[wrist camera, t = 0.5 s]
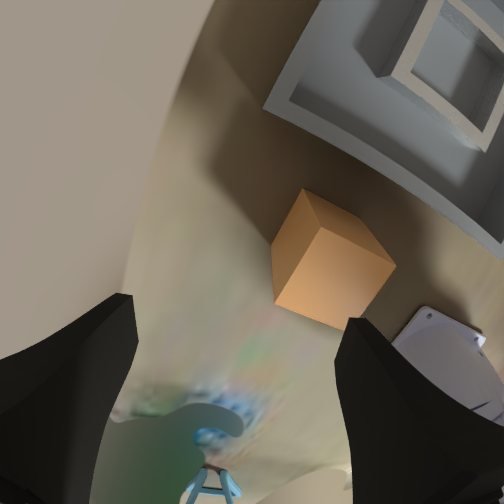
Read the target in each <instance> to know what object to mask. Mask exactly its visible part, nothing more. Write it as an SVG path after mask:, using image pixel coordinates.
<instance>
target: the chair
mask: <svg viewBox="0 0 504 504" xmlns="http://www.w3.org/2000/svg"><path fill="white" fill-rule="evenodd" d="M206 478H207V469H206V468H200V470H199V472H198V473H197V474H196V475H195V477H194V478H193V479H192V480H191V481H190V482H189V483H188V484H187V487H186V491H187V492H191V494H190V496H189V498H188V500H187V502H186V504H194V502H195V500H196V498H197V496H198V494H199V493H200V494H209V495H218V496H225V499H226V502H227V504H234V502H233V499H232V497H241V489H240V488H239V487H238V486H237V485H236V483H235V482H234V481H233V480H232V478H231V477H230V475H229V473H228V472H227V471H226V470H221V471H220V481H221V485H222V488H223V490H216V489H207V488H202V486H203V484H204V482H205V480H206ZM230 490H231V491H230Z"/></svg>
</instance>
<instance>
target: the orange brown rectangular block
mask: <svg viewBox="0 0 504 504" xmlns="http://www.w3.org/2000/svg"><path fill="white" fill-rule="evenodd" d="M271 260H272V276H273V294H274V304H276V305H279V306H281V307H284V308H286V309H289V310H291V311H294V312H296V313H299V314H301V315H304V316H306V317H309V318H311V319H314V320H317V321H319V322H322V323H324V324H327V325H329V326H332V327H335V328H337V329H340V330H343V331H345V328H346V325H347V322H348V319H349V317H354V318H359V317H360V316H361V315H362V313H363V312H364V311H365V309H366V308H367V307H368V305H369V304H370V303H371V301H372V300H373V299H374V297H375V296H376V295H377V293H378V292H379V290H380V289H381V288H382V286H383V285H384V283H385V282H386V281H387V279H388V278H389V276H390V275H391V274H392V272H393V271H394V269H395V268H396V264H395V263H394V262H393V260H392V259H391V258H390V256H389V255H388V254H387V252H386V251H385V250H384V248H383V247H382V246H381V244H380V243H379V242H378V240H377V239H376V238H375V237H374V235H373V234H372V233H371V231H370V230H369V229H368V228H367V226H366V225H365V224H364V223H363V221H362V220H361V219H360V218H358V217H357V216H355V215H353V214H351V213H349V212H347V211H345V210H344V209H342V208H340V207H338V206H336V205H334V204H332V203H330V202H329V201H327V200H325V199H323V198H321V197H319V196H317V195H315V194H313V193H311V192H309V191H307V190H305V189H303V188H302V190H301V192H300V194H299V196H298V197H297V199H296V201H295V203H294V205H293V207H292V208H291V210H290V212H289V214H288V216H287V218H286V219H285V221H284V223H283V225H282V227H281V228H280V230H279V232H278V234H277V236H276V237H275V239H274V241H273V243H272V245H271Z"/></svg>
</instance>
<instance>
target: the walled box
mask: <svg viewBox="0 0 504 504" xmlns="http://www.w3.org/2000/svg"><path fill="white" fill-rule="evenodd" d="M461 1H462V2H464V3H465V4H466V5H467V6H468V7H469V8H470V9H472V10H473V11H474V12H475V13H476V14H477V15H478V16H479V17H480V18H481V19H482V20H484V21H485V22H486V23H487V24H488V25H489V26H490V27H491V28H492V29H493V30H494V31H495V32H496V33H497V34H498V35H499V36H500V37H501V38H502V39H503V41H504V0H461ZM415 2H416V0H320V2H319V4H318V6H317V7H316V9H315V11H314V13H313V14H312V16H311V18H310V20H309V21H308V23H307V25H306V27H305V28H304V30H303V32H302V34H301V36H300V37H299V39H298V41H297V43H296V45H295V46H294V48H293V50H292V52H291V54H290V56H289V57H288V59H287V61H286V63H285V65H284V67H283V69H282V71H281V72H280V74H279V76H278V78H277V80H276V82H275V84H274V86H273V88H272V90H271V91H270V93H269V95H268V97H267V99H266V101H265V103H264V105H263V107H262V109H264V110H266V111H268V112H270V113H272V114H274V115H276V116H278V117H281V118H283V119H285V120H287V121H289V122H291V123H293V124H295V125H297V126H299V127H300V128H302V129H304V130H306V131H308V132H310V133H312V134H314V135H316V136H318V137H319V138H321V139H323V140H325V141H327V142H329V143H330V144H332V145H334V146H336V147H338V148H339V149H341V150H343V151H345V152H346V153H348V154H350V155H352V156H353V157H355V158H357V159H358V160H360V161H362V162H363V163H365V164H367V165H368V166H370V167H372V168H373V169H375V170H376V171H378V172H380V173H381V174H383V175H384V176H386V177H388V178H389V179H391V180H392V181H394V182H395V183H397V184H398V185H400V186H401V187H403V188H404V189H406V190H407V191H409V192H410V193H412V194H413V195H415V196H416V197H418V198H419V199H421V200H422V201H424V202H425V203H426V204H428V205H429V206H431V207H432V208H433V209H435V210H436V211H438V212H439V213H440V214H442V215H443V216H444V217H446V218H447V219H449V220H450V221H451V222H453V223H454V224H455V225H457V226H458V227H459V228H460V229H462V230H463V231H464V232H466V233H467V234H468V235H469V236H471V237H472V238H473V239H474V240H476V241H477V242H478V243H479V244H481V245H482V246H483V247H484V248H485V249H487V250H488V251H489V252H490V253H491V254H493V255H494V256H495V257H496V258H497V259H499V260H501V259H502V257H503V256H504V113H503V115H502V118H501V120H500V122H499V125H498V127H497V129H496V131H495V133H494V136H493V138H492V140H491V142H490V144H489V146H488V148H487V150H486V153H484V152H481V151H478V150H475V149H472V148H469V147H466V146H465V145H464V144H463V143H462V142H461V141H459V140H458V139H457V138H456V137H455V136H454V135H452V134H451V133H450V132H449V131H448V130H447V129H445V128H444V127H443V126H442V125H440V124H439V123H438V122H437V121H435V120H434V119H433V118H432V117H430V116H429V115H428V114H427V113H425V112H424V111H423V110H421V109H420V108H419V107H417V106H416V105H415V104H413V103H412V102H411V101H409V100H408V99H406V98H405V97H404V96H402V95H401V94H399V93H398V92H396V91H395V90H394V89H392V88H391V87H389V86H388V85H386V84H385V83H383V82H382V81H380V80H379V79H377V76H378V74H379V72H380V70H381V69H382V67H383V65H384V63H385V61H386V59H387V57H388V55H389V53H390V51H391V49H392V47H393V45H394V43H395V41H396V39H397V37H398V35H399V33H400V32H401V30H402V28H403V26H404V24H405V22H406V20H407V18H408V16H409V14H410V12H411V10H412V8H413V6H414V4H415ZM491 65H492V62H491V61H490V60H489V59H488V58H487V57H486V56H485V55H484V54H483V53H482V52H481V51H480V50H479V49H478V48H477V47H476V46H475V45H473V44H472V43H471V42H470V41H469V40H468V39H467V38H466V37H465V36H464V35H462V34H461V33H460V32H459V31H458V30H457V29H455V28H454V27H453V26H452V25H451V24H450V23H448V22H447V21H446V20H445V19H443V18H442V17H441V16H440V15H438V16H437V18H436V20H435V22H434V24H433V26H432V28H431V31H430V33H429V35H428V37H427V39H426V41H425V43H424V45H423V47H422V49H421V52H420V54H419V56H418V58H417V60H416V62H415V64H414V66H413V68H412V70H411V73H412V74H413V75H415V76H416V77H417V78H419V79H420V80H421V81H423V82H424V83H425V84H427V85H428V86H429V87H430V88H432V89H433V90H434V91H436V92H437V93H438V94H439V95H440V96H442V97H443V98H444V99H445V100H446V101H448V102H449V103H450V104H451V105H452V106H454V107H455V108H456V109H457V110H458V111H459V112H460V113H461V114H463V115H464V116H465V117H466V118H467V119H468V118H469V116H470V114H471V112H472V110H473V107H474V105H475V103H476V101H477V98H478V96H479V94H480V92H481V89H482V87H483V85H484V82H485V80H486V77H487V75H488V73H489V70H490V68H491Z"/></svg>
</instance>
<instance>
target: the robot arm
mask: <svg viewBox="0 0 504 504" xmlns="http://www.w3.org/2000/svg"><path fill="white" fill-rule="evenodd" d="M429 313H430V314H429ZM428 314H429V315H428ZM427 315H428V316H427ZM485 340H486V338H485V336H484V335H483V334H481V333H479V332H477V331H475V330H473V329H471V328H469V327H467V326H465V325H463V324H462V323H460V322H458V321H456V320H454V319H452V318H450V317H448V316H446V315H444V314H442V313H440V312H438V311H436V310H434V309H432V308H430V307H428V306H423V307H421V308H420V309H419V310H418V312H417V313H416V314H415V315H414V317H413V318H412V319H411V320H410V322H409V323H408V324H407V325H406V327H405V328H404V329H403V330H402V331H401V333H400V334H399V335H398V336H397V337H396V339H395V340H394V341H393V342H392V343H390V342H389V341H388V340H387V339H386V338H385V337H384V336H383V335H382V334H381V333H380V332H379V331H378V330H377V329H376V328H375V327H374V326H373V325H372V324H371V323H370V322H369V321H368V320H367V319H366V318H354V317H349V319H348V322H347V325H346V328H345V331H344V334H343V337H342V340H341V343H340V346H339V349H338V352H337V355H336V358H335V360H334V365H335V376H336V386H337V391H338V395H339V400H340V404H341V408H342V413H343V417H344V422H345V426H346V430H347V435H348V440H349V446H350V453H351V466H352V484H353V504H504V384H503V382H502V381H501V379H500V377H499V376H498V374H497V373H496V371H495V369H494V368H493V366H492V365H491V363H490V362H489V360H488V359H487V357H486V356H485V354H484V353H483V351H482V350H481V348H480V347H481V346H482V344H483V343H484V342H485ZM138 342H139V340H138V334H137V327H136V320H135V312H134V304H133V295H127V294H120V293H115V294H114V295H112V296H110V297H109V298H107V299H106V300H104V301H103V302H101V303H100V304H98V305H97V306H95V307H94V308H93V309H91V310H90V311H88V312H87V313H85V314H84V315H82V316H81V317H79V318H78V319H76V320H75V321H73V322H72V323H71V324H69V325H67V326H65V327H64V328H62V329H61V330H59V331H58V332H56V333H54V334H53V335H51V336H49V337H48V338H46V339H44V340H42V341H40V342H39V343H37V344H35V345H33V346H31V347H29V348H27V349H25V350H22V351H20V352H18V353H15V354H13V355H10V356H8V357H6V358H3V359H1V360H0V504H89V498H90V490H91V485H92V479H93V473H94V468H95V463H96V459H97V455H98V451H99V446H100V443H101V439H102V436H103V432H104V429H105V425H106V422H107V420H108V417H109V415H110V412H111V410H112V408H113V405H114V403H115V401H116V399H117V397H118V394H119V392H120V390H121V388H122V385H123V383H124V381H125V379H126V377H127V374H128V372H129V370H130V368H131V365H132V362H133V359H134V356H135V352H136V349H137V345H138Z"/></svg>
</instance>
